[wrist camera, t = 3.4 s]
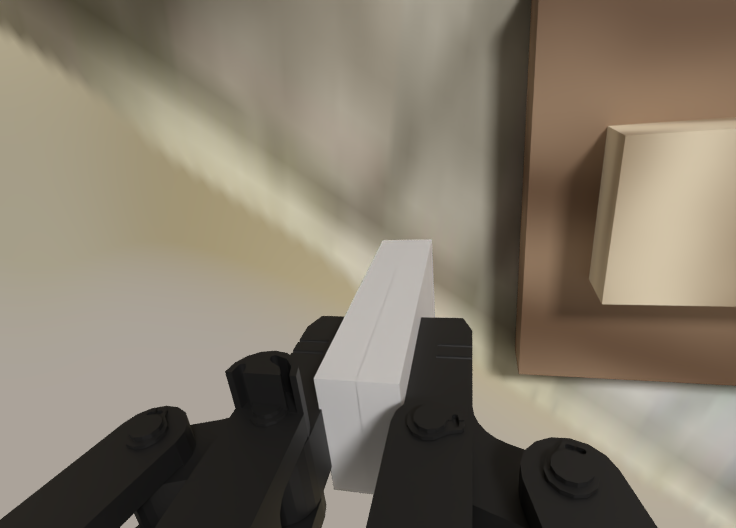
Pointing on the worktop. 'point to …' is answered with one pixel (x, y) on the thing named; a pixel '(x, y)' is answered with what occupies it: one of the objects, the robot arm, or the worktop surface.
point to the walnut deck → (583, 179)
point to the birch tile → (667, 215)
